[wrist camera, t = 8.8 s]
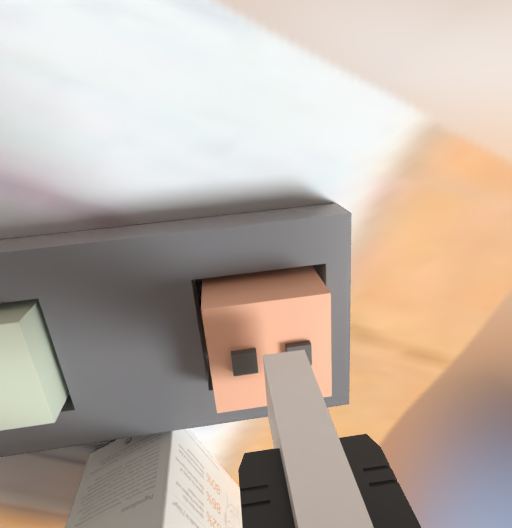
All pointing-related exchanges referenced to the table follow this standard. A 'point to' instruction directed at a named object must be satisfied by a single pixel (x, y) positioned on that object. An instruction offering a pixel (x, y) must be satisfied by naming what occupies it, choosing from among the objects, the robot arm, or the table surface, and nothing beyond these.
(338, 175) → the table surface
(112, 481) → the small box
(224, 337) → the peach rectangular block
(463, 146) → the table surface
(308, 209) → the board
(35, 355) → the pale green button
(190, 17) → the table surface
